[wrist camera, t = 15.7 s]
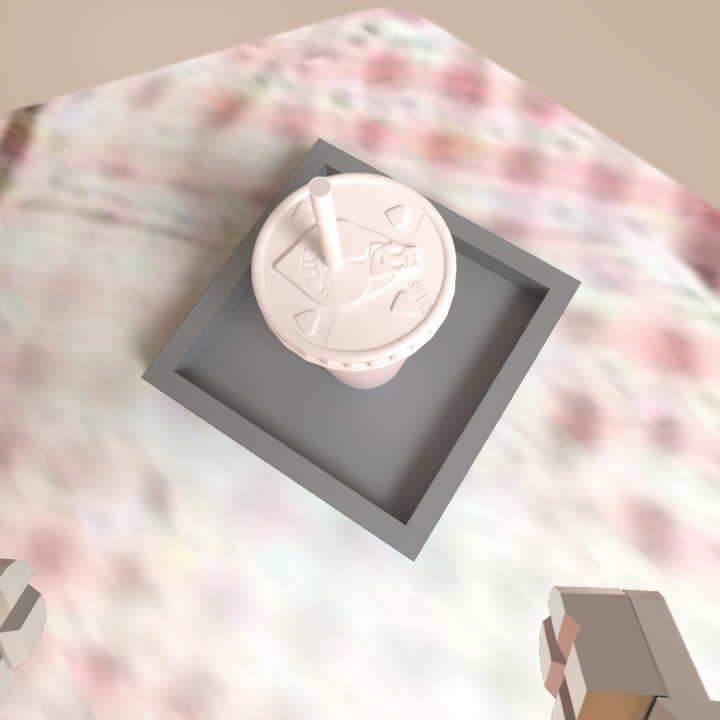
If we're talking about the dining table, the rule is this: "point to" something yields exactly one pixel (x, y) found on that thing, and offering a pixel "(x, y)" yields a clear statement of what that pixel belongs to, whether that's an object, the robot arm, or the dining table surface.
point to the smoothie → (354, 274)
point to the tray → (375, 405)
